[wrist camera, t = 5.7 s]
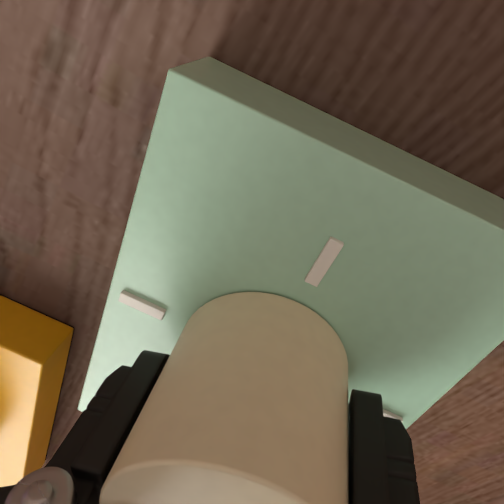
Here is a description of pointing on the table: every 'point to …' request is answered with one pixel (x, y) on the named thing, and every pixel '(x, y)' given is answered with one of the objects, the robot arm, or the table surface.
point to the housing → (28, 386)
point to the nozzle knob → (242, 412)
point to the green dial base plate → (305, 239)
